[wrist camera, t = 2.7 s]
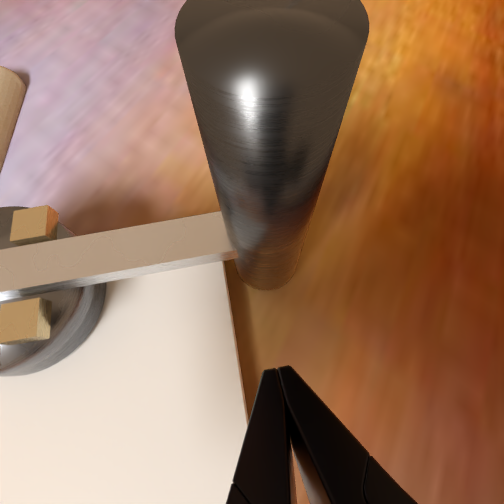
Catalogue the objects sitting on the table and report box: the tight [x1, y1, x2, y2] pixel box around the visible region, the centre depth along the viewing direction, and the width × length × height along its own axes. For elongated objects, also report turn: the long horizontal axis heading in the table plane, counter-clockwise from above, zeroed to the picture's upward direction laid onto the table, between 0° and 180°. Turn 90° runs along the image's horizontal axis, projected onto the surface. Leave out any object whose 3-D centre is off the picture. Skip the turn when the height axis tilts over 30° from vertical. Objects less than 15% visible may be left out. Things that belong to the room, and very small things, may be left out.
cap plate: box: [0, 261, 249, 504], centre depth 16 cm, size 15×15×2 cm
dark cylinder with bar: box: [0, 0, 369, 377], centre depth 11 cm, size 8×19×13 cm, turn 100°
